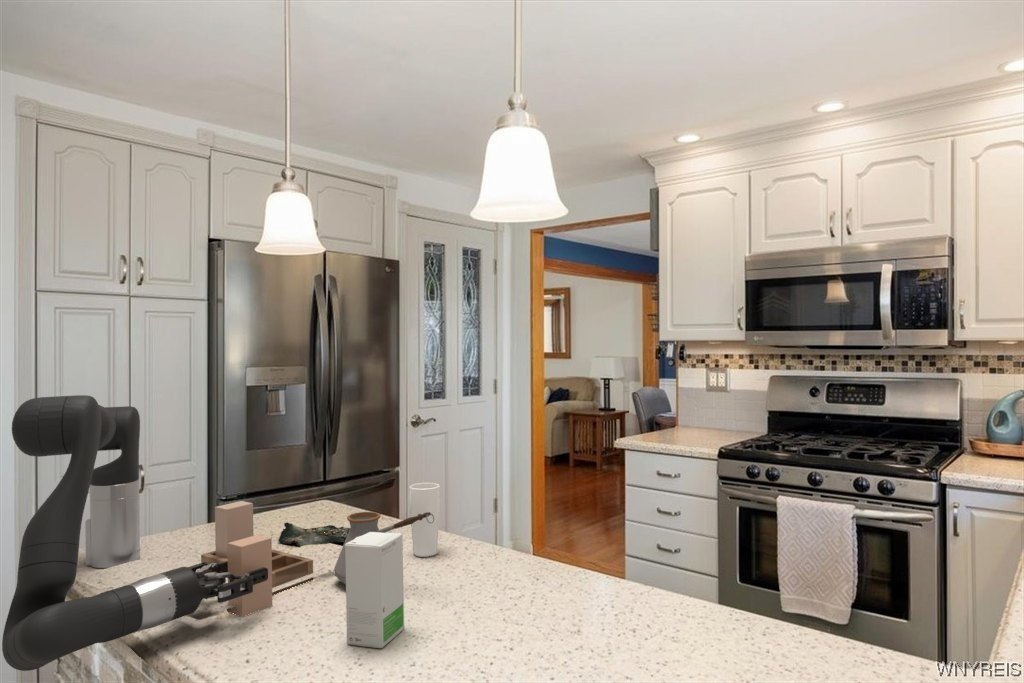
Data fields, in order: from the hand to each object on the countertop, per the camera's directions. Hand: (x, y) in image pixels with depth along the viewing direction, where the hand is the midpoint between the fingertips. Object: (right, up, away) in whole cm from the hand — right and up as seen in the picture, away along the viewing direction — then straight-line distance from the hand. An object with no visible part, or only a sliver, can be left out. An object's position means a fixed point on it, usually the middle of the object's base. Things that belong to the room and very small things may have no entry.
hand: (251, 568), depth 119 cm
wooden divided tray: (-5, -7, +16) cm, 18 cm away
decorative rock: (+1, -7, +39) cm, 40 cm away
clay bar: (0, -7, 0) cm, 7 cm away
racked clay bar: (-11, -6, +19) cm, 23 cm away
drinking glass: (+27, -7, +29) cm, 40 cm away
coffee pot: (+22, -7, +10) cm, 25 cm away
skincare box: (+24, -7, -12) cm, 28 cm away
